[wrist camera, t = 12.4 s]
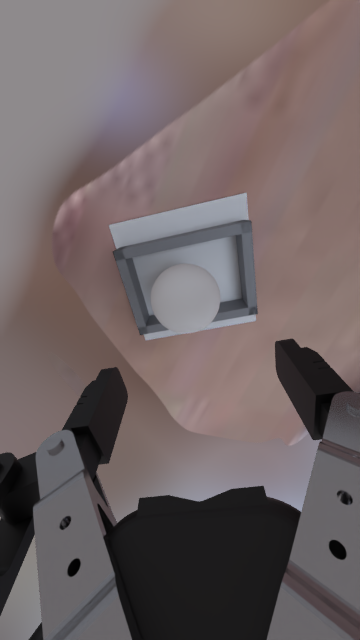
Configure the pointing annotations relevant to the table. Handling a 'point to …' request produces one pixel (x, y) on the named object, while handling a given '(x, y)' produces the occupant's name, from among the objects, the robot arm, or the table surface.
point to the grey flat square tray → (189, 258)
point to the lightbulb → (185, 298)
